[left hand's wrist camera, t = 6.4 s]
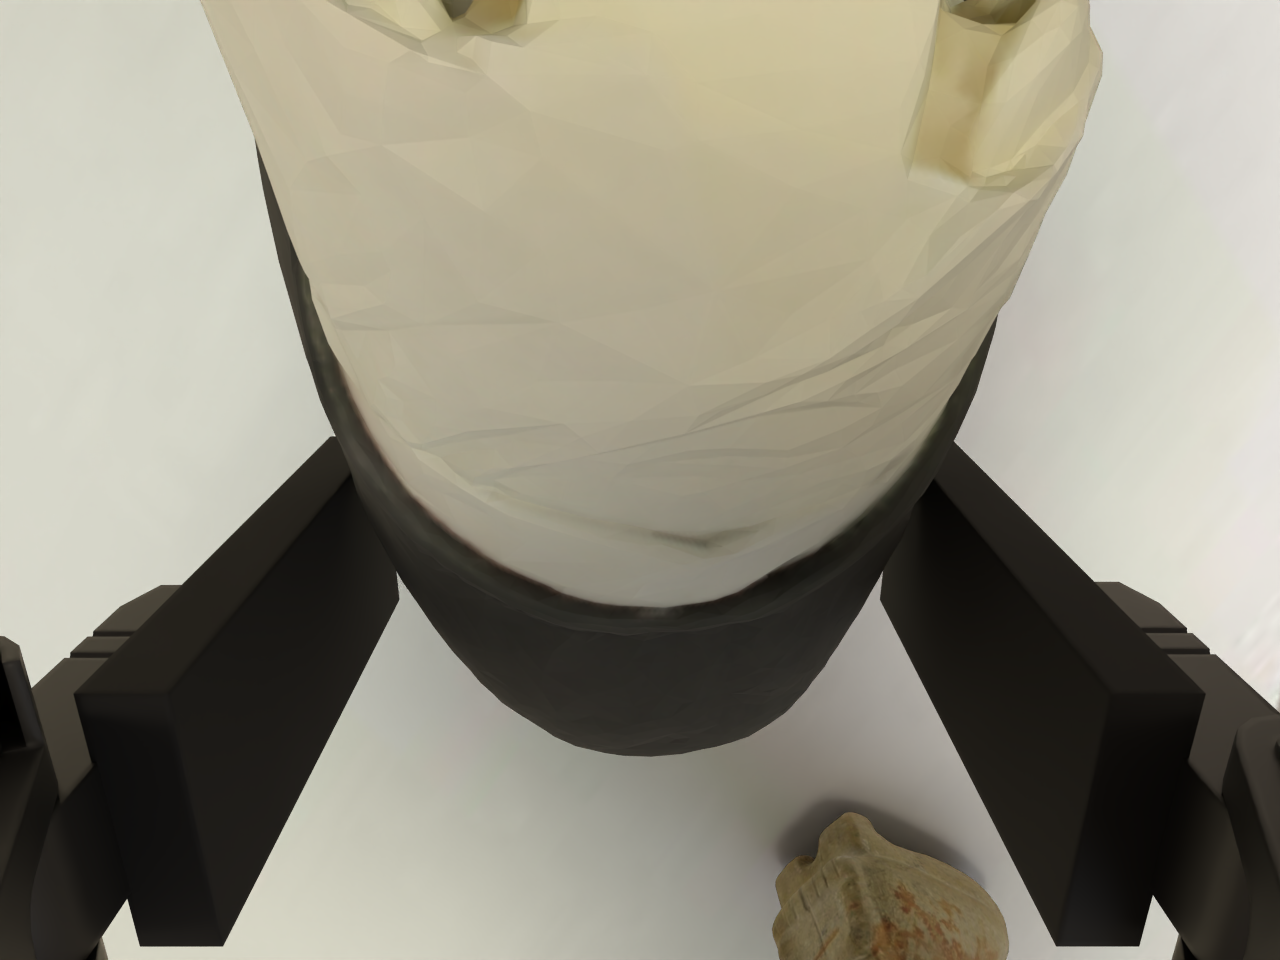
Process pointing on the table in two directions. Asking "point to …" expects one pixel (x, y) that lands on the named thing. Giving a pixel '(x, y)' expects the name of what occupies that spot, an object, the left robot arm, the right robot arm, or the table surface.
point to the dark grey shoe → (651, 310)
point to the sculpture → (881, 903)
